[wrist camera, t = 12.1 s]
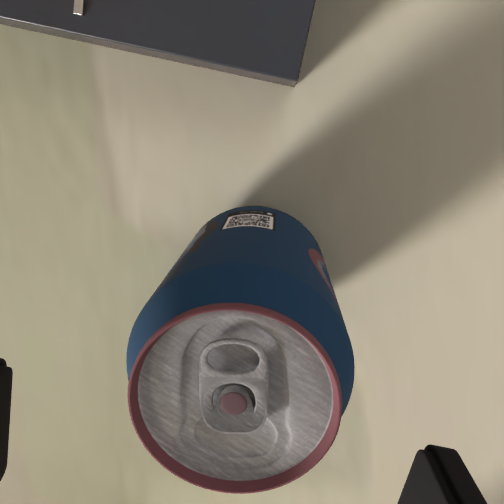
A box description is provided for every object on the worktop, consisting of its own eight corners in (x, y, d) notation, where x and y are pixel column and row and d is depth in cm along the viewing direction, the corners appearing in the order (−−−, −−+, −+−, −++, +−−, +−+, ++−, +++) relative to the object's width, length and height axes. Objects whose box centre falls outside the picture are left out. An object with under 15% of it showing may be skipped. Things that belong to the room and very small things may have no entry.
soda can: (319, 329, 24) (357, 517, 13) (192, 326, 24) (115, 506, 13) (325, 201, 22) (376, 286, 11) (186, 200, 23) (91, 281, 11)
